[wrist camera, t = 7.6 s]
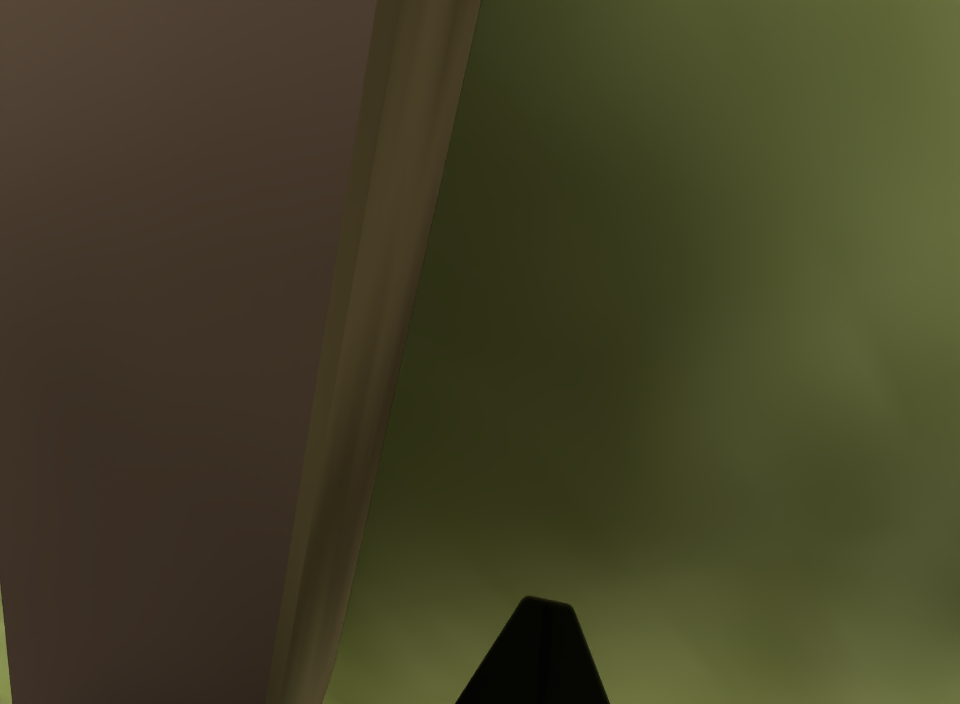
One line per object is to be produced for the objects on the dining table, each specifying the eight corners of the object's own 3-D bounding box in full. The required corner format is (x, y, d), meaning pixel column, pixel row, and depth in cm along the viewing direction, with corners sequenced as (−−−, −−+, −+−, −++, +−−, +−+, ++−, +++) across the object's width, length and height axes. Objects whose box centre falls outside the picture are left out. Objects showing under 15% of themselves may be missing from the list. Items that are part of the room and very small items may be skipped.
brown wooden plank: (344, 670, 15) (193, 1154, 10) (234, 640, 15) (18, 1110, 10) (559, -255, 8) (451, -447, 2) (348, -315, 8) (-260, -644, 2)
